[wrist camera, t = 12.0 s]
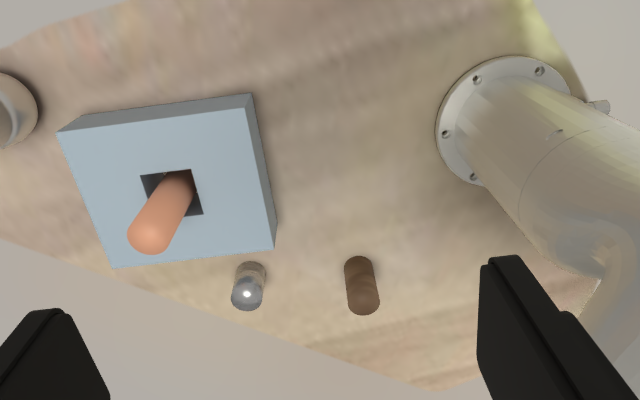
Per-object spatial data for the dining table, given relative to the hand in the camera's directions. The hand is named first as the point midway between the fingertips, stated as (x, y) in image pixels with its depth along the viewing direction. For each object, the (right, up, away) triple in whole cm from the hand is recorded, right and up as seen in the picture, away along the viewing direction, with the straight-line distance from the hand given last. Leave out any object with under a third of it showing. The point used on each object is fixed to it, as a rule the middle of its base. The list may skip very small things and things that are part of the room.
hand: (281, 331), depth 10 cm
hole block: (-12, +6, +34) cm, 37 cm away
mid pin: (+5, -5, +40) cm, 41 cm away
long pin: (-12, +6, +34) cm, 37 cm away
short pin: (-7, -5, +40) cm, 41 cm away
